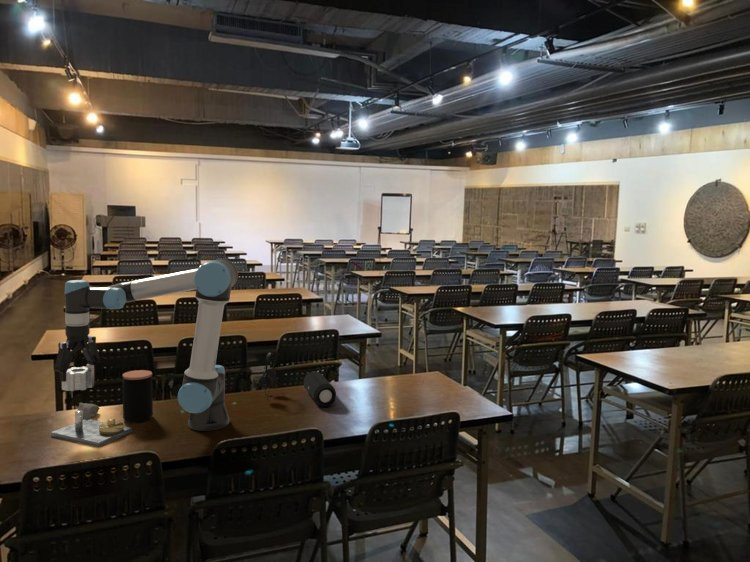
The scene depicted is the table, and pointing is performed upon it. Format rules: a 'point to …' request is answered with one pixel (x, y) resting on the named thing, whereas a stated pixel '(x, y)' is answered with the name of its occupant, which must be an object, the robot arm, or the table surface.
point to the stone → (88, 410)
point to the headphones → (267, 374)
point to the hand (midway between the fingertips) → (78, 385)
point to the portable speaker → (319, 388)
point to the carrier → (92, 431)
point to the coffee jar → (137, 396)
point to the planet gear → (81, 378)
